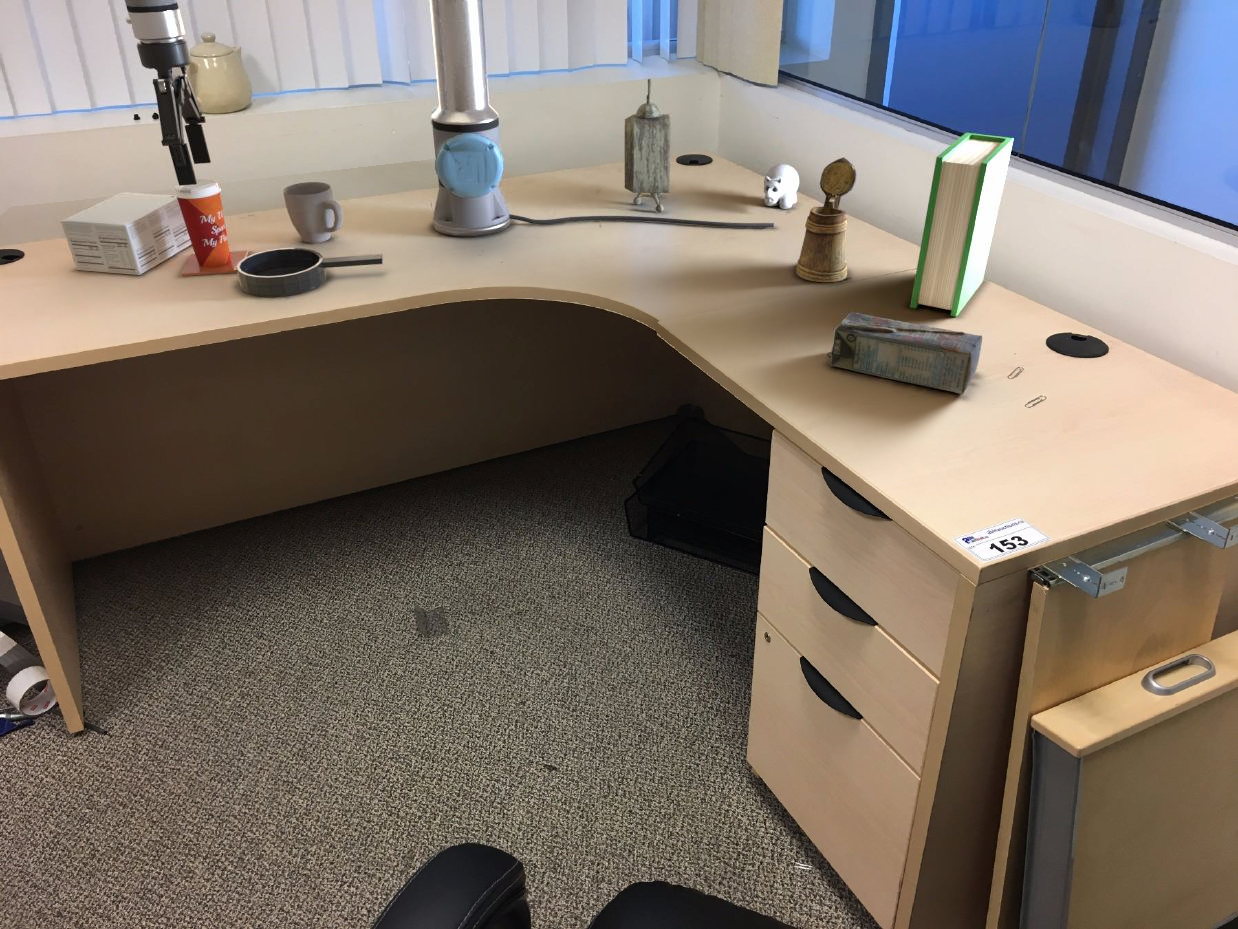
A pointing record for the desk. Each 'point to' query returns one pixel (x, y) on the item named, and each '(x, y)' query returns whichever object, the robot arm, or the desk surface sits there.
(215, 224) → the paper cup
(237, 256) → the coaster
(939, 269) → the hardback book
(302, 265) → the pan
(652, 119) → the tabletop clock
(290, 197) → the mug
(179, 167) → the robot arm
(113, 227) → the supplement box
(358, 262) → the pan handle
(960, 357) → the beverage carton
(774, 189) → the chubby cartoon animal
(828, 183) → the wooden mug
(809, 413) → the desk surface
